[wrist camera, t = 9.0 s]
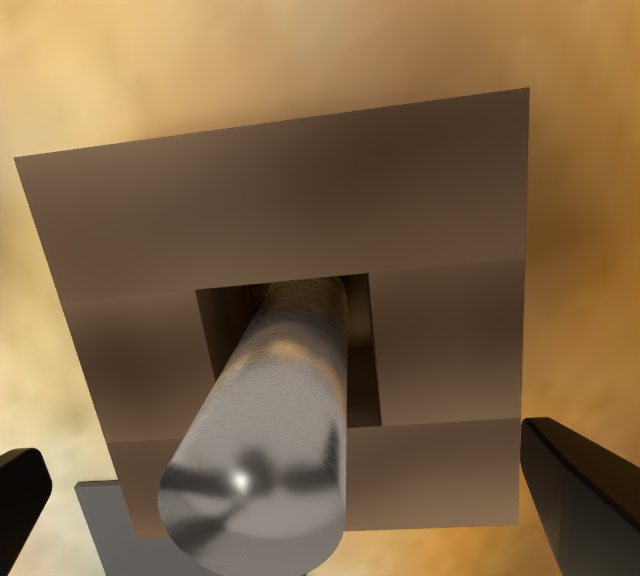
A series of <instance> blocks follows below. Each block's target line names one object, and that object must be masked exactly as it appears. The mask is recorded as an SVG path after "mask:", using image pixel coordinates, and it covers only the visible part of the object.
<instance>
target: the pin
mask: <svg viewBox="0 0 640 576" xmlns="http://www.w3.org/2000/svg"><path fill="white" fill-rule="evenodd" d="M347 347H348V294H347V290H346V287H345V285H344V283H343V281H342V280H341V278H340V277H339V276H331V277H321V278H310V279H300V280H290V281H280V282H274V283H273V284H272V286H271V288H270V290H269V291H268V293H267V295H266V296H265V298H264V300H263V302H262V303H261V305H260V307H259V309H258V310H257V312H256V314H255V316H254V317H253V319H252V321H251V322H250V324H249V326H248V328H247V329H246V331H245V333H244V335H243V336H242V338H241V340H240V341H239V343H238V345H237V347H236V348H235V350H234V352H233V354H232V355H231V357H230V359H229V360H228V362H227V364H226V366H225V367H224V369H223V371H222V373H221V374H220V376H219V378H218V379H217V381H216V383H215V385H214V386H213V388H212V390H211V392H210V393H209V395H208V397H207V399H206V400H205V402H204V404H203V405H202V407H201V409H200V411H199V412H198V414H197V416H196V418H195V419H194V421H193V423H192V424H191V426H190V428H189V430H188V431H187V433H186V435H185V437H184V438H183V440H182V442H181V443H180V445H179V447H178V449H177V450H176V452H175V454H174V456H173V457H172V459H171V461H170V463H169V464H168V466H167V468H166V469H165V472H164V474H163V476H162V478H161V481H160V485H159V489H158V508H159V513H160V517H161V520H162V522H163V525H164V527H165V529H166V531H167V533H168V534H169V536H170V537H171V539H172V540H173V541H174V543H175V544H176V545H177V546H178V547H179V548H180V549H181V550H182V551H183V552H184V553H185V554H186V555H187V556H188V557H190V558H191V559H192V560H194V561H195V562H197V563H198V564H199V565H201V566H203V567H205V568H207V569H208V570H210V571H213V572H215V573H217V574H220V575H223V576H301V575H303V574H306V573H308V572H310V571H312V570H313V569H315V568H317V567H318V566H319V565H321V564H322V563H323V562H325V561H326V560H327V559H328V557H329V556H330V555H331V554H332V553H333V552H334V550H335V549H336V547H337V546H338V544H339V542H340V540H341V538H342V535H343V531H344V527H345V519H346V434H347Z"/></svg>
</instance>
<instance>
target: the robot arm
mask: <svg viewBox="0 0 640 576" xmlns="http://www.w3.org/2000/svg"><path fill="white" fill-rule="evenodd" d="M520 462H521V467H522V471H523V474H524V477H525V480H526V482H527V485H528V488H529V490H530V493H531V496H532V498H533V501H534V504H535V506H536V509H537V512H538V514H539V517H540V520H541V522H542V525H543V528H544V530H545V533H546V536H547V538H548V541H549V544H550V546H551V549H552V552H553V554H554V557H555V559H556V562H557V564H558V566H559V568H560V571H561V573H562V575H563V576H640V467H638V466H636V465H634V464H632V463H631V462H629V461H627V460H625V459H623V458H622V457H620V456H618V455H616V454H614V453H613V452H611V451H609V450H607V449H605V448H604V447H602V446H600V445H598V444H596V443H595V442H593V441H591V440H589V439H587V438H586V437H584V436H582V435H580V434H578V433H577V432H575V431H573V430H571V429H569V428H568V427H566V426H564V425H562V424H560V423H559V422H557V421H555V420H553V419H551V418H549V417H535V418H525V419H524V420H523V421H522V424H521V444H520ZM51 491H52V480H51V477H50V475H49V472H48V469H47V467H46V464H45V462H44V459H43V456H42V454H41V452H40V451H39V450H38V449H36V448H19V449H13V450H11V451H8V452H6V453H4V454H2V455H0V576H8V574H9V572H10V571H11V569H12V567H13V565H14V563H15V561H16V560H17V558H18V556H19V554H20V552H21V550H22V548H23V546H24V544H25V542H26V541H27V539H28V537H29V535H30V533H31V531H32V529H33V527H34V525H35V523H36V522H37V520H38V518H39V516H40V514H41V512H42V510H43V508H44V506H45V504H46V503H47V501H48V499H49V497H50V495H51Z"/></svg>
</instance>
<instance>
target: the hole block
mask: <svg viewBox="0 0 640 576" xmlns="http://www.w3.org/2000/svg"><path fill="white" fill-rule="evenodd" d="M529 92H530V87H529V88H521V89H514V90H507V91H499V92H492V93H485V94H477V95H470V96H463V97H455V98H448V99H441V100H433V101H426V102H419V103H411V104H404V105H397V106H389V107H382V108H375V109H367V110H360V111H353V112H345V113H338V114H330V115H323V116H316V117H308V118H301V119H294V120H286V121H279V122H272V123H264V124H257V125H250V126H242V127H235V128H228V129H220V130H213V131H206V132H198V133H191V134H184V135H176V136H169V137H162V138H154V139H147V140H139V141H132V142H125V143H117V144H110V145H103V146H95V147H88V148H81V149H73V150H66V151H59V152H51V153H44V154H37V155H29V156H22V157H15V158H14V161H15V164H16V167H17V170H18V174H19V177H20V180H21V183H22V186H23V189H24V192H25V195H26V198H27V201H28V204H29V207H30V210H31V213H32V217H33V220H34V223H35V226H36V229H37V232H38V235H39V238H40V241H41V244H42V247H43V250H44V253H45V256H46V260H47V263H48V266H49V269H50V272H51V275H52V278H53V281H54V284H55V287H56V290H57V293H58V296H59V299H60V302H61V306H62V309H63V312H64V315H65V318H66V321H67V324H68V327H69V330H70V333H71V336H72V339H73V342H74V345H75V349H76V352H77V355H78V358H79V361H80V364H81V367H82V370H83V373H84V376H85V379H86V382H87V385H88V388H89V392H90V395H91V398H92V401H93V404H94V407H95V410H96V413H97V416H98V419H99V422H100V425H101V428H102V431H103V435H104V438H105V441H106V444H107V447H108V450H109V453H110V456H111V459H112V462H113V465H114V468H115V471H116V474H117V478H118V481H119V484H120V487H121V490H122V493H123V496H124V499H125V502H126V505H127V508H128V511H129V514H130V517H131V521H132V524H133V527H134V530H135V533H136V536H137V539H144V538H171V537H170V536H169V534H168V533H167V531H166V529H165V527H164V525H163V522H162V520H161V517H160V513H159V508H158V489H159V485H160V481H161V478H162V476H163V474H164V472H165V469H166V468H167V466H168V464H169V463H170V461H171V459H172V457H173V456H174V454H175V452H176V450H177V449H178V447H179V445H180V443H181V442H182V440H183V438H184V437H185V435H186V433H187V431H188V430H189V428H190V426H191V424H192V423H193V421H194V419H195V418H196V416H197V414H198V412H199V411H200V409H201V407H202V405H203V404H204V402H205V400H206V399H207V397H208V395H209V393H210V392H211V390H212V388H213V386H214V385H215V383H216V381H217V379H218V378H219V376H220V374H221V373H222V371H223V369H224V367H225V366H226V364H227V362H228V360H229V359H230V357H231V355H232V354H233V352H234V350H235V348H236V347H237V345H238V343H239V341H240V340H241V338H242V336H243V335H244V333H245V331H246V329H247V328H248V326H249V324H250V322H251V321H252V319H253V317H254V314H253V308H252V302H251V297H250V291H249V286H248V285H249V284H259V283H269V282H280V281H290V280H300V279H310V278H321V277H331V276H341V275H352V274H362V273H366V279H367V290H368V301H369V312H370V322H371V333H372V344H373V347H372V348H359V349H347V434H346V519H345V527H344V531H365V530H393V529H420V528H448V527H475V526H503V525H518V500H519V463H520V426H521V389H522V352H523V315H524V278H525V241H526V203H527V166H528V129H529Z"/></svg>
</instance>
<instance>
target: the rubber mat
mask: <svg viewBox="0 0 640 576" xmlns="http://www.w3.org/2000/svg"><path fill="white" fill-rule="evenodd" d="M74 489H75V492H76V494H77V497H78V500H79V503H80V505H81V508H82V511H83V513H84V516H85V519H86V522H87V524H88V527H89V530H90V533H91V535H92V538H93V541H94V543H95V546H96V549H97V552H98V554H99V557H100V560H101V563H102V565H103V568H104V571H105V573H106V576H223V575H220V574H217V573H215V572H213V571H210V570H208V569H207V568H205V567H203V566H201V565H199V564H198V563H197V562H195V561H194V560H192V559H191V558H190V557H188V556H187V555H186V554H185V553H184V552H183V551H182V550H181V549H180V548H179V547H178V546H177V545H176V544H175V543H174V541H173V540H172V539H171V538H144V539H137V536H136V533H135V530H134V527H133V524H132V521H131V517H130V514H129V511H128V508H127V505H126V502H125V499H124V496H123V493H122V490H121V487H120V484H119V481H99V482H80V483H77V484H76V486H75V487H74ZM301 576H306V574H303V575H301Z"/></svg>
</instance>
